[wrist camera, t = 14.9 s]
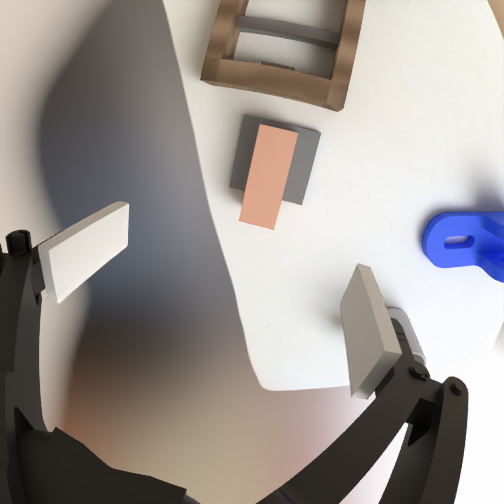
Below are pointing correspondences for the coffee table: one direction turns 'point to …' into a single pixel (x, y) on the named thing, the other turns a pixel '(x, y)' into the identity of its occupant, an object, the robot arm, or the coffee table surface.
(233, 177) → the rubber pad
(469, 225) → the bracket
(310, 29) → the brown wooden frame
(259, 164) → the terracotta block
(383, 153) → the coffee table surface
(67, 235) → the robot arm
